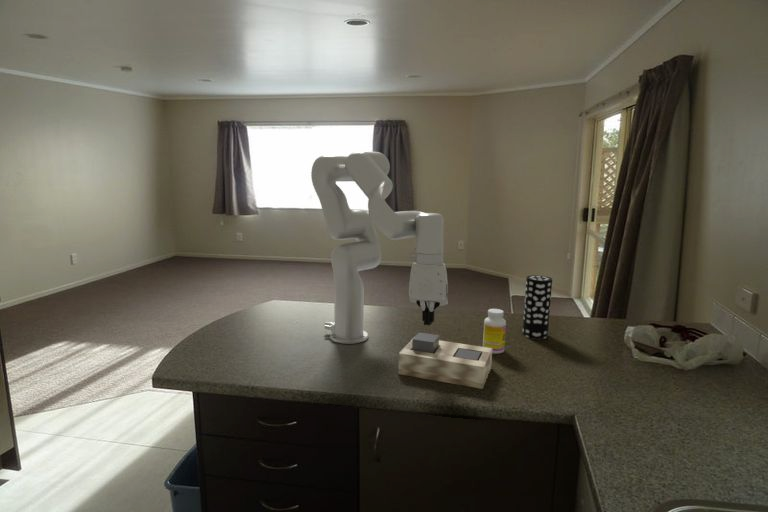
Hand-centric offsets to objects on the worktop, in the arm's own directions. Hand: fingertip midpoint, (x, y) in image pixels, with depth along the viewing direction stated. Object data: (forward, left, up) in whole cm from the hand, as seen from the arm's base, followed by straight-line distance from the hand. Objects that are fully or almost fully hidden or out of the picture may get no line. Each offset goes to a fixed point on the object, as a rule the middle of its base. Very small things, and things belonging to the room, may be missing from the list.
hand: (428, 323), depth 133 cm
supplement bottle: (+15, +21, -13) cm, 29 cm away
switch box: (+5, 0, -13) cm, 14 cm away
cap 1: (-1, 0, -8) cm, 8 cm away
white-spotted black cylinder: (+26, +41, -13) cm, 51 cm away
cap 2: (+11, 0, -11) cm, 16 cm away
